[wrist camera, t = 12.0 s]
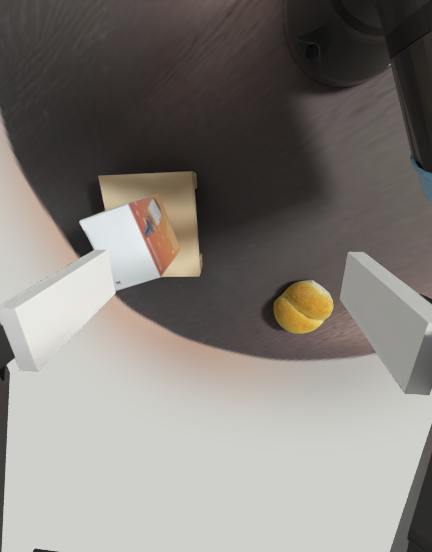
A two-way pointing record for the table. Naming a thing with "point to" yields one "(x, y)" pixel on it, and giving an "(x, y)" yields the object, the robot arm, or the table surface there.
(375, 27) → the robot arm
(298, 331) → the bread roll
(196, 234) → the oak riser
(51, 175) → the table surface
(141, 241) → the small box
